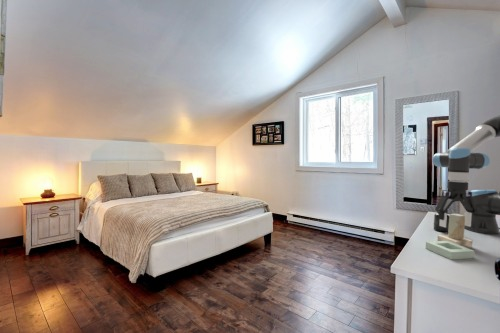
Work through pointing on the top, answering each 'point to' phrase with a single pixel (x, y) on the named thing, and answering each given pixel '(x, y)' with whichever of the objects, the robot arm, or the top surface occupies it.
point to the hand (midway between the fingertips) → (455, 226)
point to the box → (456, 226)
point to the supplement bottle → (437, 222)
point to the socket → (450, 250)
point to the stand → (456, 241)
